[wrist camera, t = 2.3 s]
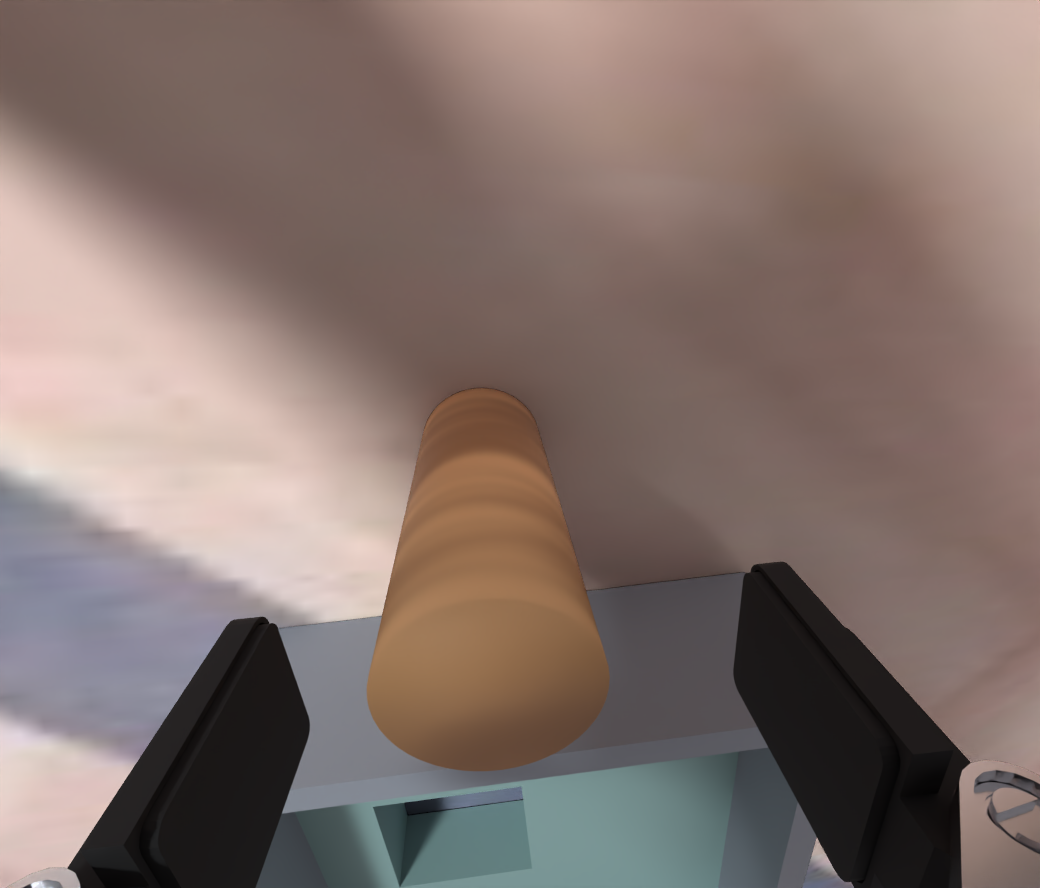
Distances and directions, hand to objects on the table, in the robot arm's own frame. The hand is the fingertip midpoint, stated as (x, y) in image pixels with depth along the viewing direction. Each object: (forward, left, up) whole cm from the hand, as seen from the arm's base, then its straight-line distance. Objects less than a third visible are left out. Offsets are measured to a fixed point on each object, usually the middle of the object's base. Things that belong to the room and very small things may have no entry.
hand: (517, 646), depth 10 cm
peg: (-1, -1, -8) cm, 8 cm away
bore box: (+16, -1, -8) cm, 18 cm away
